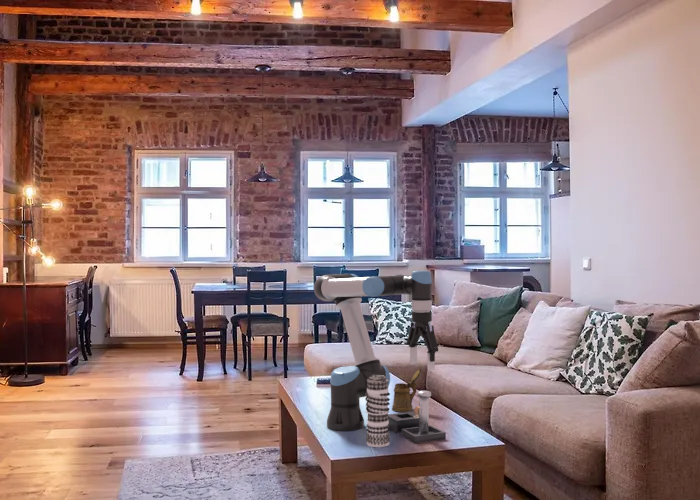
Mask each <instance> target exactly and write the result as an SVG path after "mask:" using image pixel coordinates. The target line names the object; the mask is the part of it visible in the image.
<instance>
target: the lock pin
mask: <svg viewBox="0 0 700 500" xmlns="http://www.w3.org/2000/svg"><path fill="white" fill-rule="evenodd" d="M416 393H417V397H419V400H418V401H419V402H418V405H419V406H418V407H419V435H424V434H428V425H429V423H430V422H429V420H430V419H429V414H430V412H429V407H430V398H431V397H432V392H431V391H429V390H418V391H416Z"/></svg>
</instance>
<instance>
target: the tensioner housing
mask: <svg viewBox="0 0 700 500" xmlns="http://www.w3.org/2000/svg"><path fill="white" fill-rule="evenodd" d="M388 420H389V431H391V432H393V433H395V434H402V429H406V428H413V427H419V406H415V407H414V409H413V411H409V412H396V413H388Z"/></svg>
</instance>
